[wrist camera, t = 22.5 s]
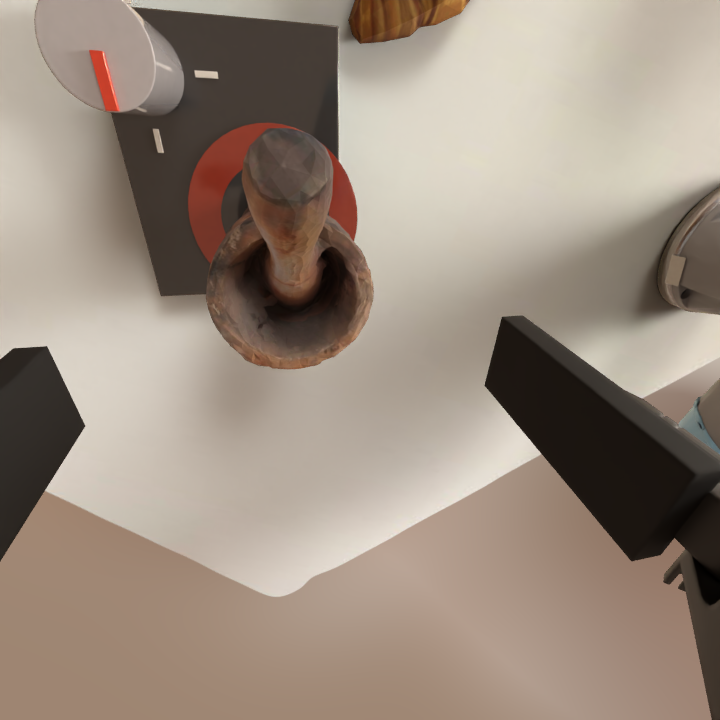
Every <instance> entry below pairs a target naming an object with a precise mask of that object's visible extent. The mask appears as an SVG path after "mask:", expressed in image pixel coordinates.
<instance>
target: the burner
mask: <svg viewBox="0 0 720 720" xmlns="http://www.w3.org/2000/svg"><path fill="white" fill-rule="evenodd" d="M267 128H290V129H294V130H299V129H296V128H294V127H290V126H287V125H283V124H276V123H255V124H250V125H245V126H242V127H239V128H236V129H234V130H232V131H230V132H228V133H226V134H224V135H223V136H221V137H220V138H219V139H218V140H216V141H215V142H214V143H213V144H212V145H211V146H210V147H209V148H208V149H207V150H206V151H205V152H204V154H203V156H202V157H201V159H200V160H199V162H198V164H197V166H196V168H195V170H194V172H193V175H192V179H191V182H190V186H189V194H188V212H189V219H190V224H191V228H192V231H193V234H194V237H195V239H196V241H197V244H198V246H199V247H200V249H201V251H202V253H203V254H204V256H205V257H206V258H207V260H208V261H209V263H210V264H211V263H212V260H213V257H214V255H215V253H216V251H217V249H218V247H219V245H220V244H221V242H222V241H223V239H224V238H225V235H226V234H227V232H228V231H229V229H230V228H231V227H232V226H233V225H234V223H235V222H236V221H237V220H238V219H240V218H241V217H242V215H243V213H244V212H245V210H246V209H247V207H248V202H247V199H246V195H245V192H244V188H243V184H242V171H243V161H244V158H245V156H246V153H247V151H248V149H249V146H250V145H251V144H252V143H253V142H254V141H255V140H256V139H257V138H258V137H259V136H260V135H261V134H262V133H263V132H264V131H265V130H266V129H267ZM299 131H301V130H299ZM302 132H303V131H302ZM320 143H321V142H320ZM321 144H322V143H321ZM325 148H326V149H327V151H328V154H329V156H330V159H331V160H332V166H333V187H332V198H331V203H330V208H329V211H328V214H327V215H328V216H330V217H331V218H333V219H334V220H336V221H337V222H338V223H339V224H340V226H341V227H342V228H343V229H344V230H345V231H346V232H347V233H348V234H349V235H350V237H351V239H352V240H353V241H354V238H355V234H356V227H357V206H356V200H355V195H354V192H353V188H352V185H351V183H350V180H349V178H348V176H347V174H346V172H345V170H344V169H343V167H342V165H341V164H340V162H339V161H338V160H337V158H336V157H335V156H334V155H333V154H332V153H331V152H330V151H329V149H328V148H327V147H326V146H325Z"/></svg>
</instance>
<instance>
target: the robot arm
mask: <svg viewBox="0 0 720 720" xmlns="http://www.w3.org/2000/svg"><path fill="white" fill-rule="evenodd" d="M657 279H658V288H659V291H660V294H661V296H662V297H663V298H664V299H665V300H666V301H667V302H668V303H670V304H672V305H675V306H677V307H679V308H681V309H684V310H686V311H690V312H699V313H709V314H718V315H720V187H719V188H717V189H716V190H714V191H713V192H711V193H710V194H709V195H707V196H706V197H705V198H704V199H703V200H702V201H700V202H699V203H698V204H697V205H696V206H695V207H694V208H693V209H692V210H691V211H690V212H689V214H688V215H687V216H686V217H685V218H684V219H683V221H682V222H681V223H680V225H679V226H678V227H677V229H676V230H675V232H674V233H673V235H672V237H671V238H670V240H669V242H668V244H667V246H666V248H665V250H664V253H663V255H662V258H661V261H660V265H659V269H658V278H657ZM485 387H486V388H487V389H488V390H489V391H490V392H491V394H492V395H493V396H494V397H495V398H496V400H497V401H498V402H499V403H500V404H501V406H502V407H503V408H504V409H505V410H506V412H507V413H508V414H509V415H510V416H511V418H512V419H513V420H514V421H515V422H516V424H517V425H518V426H519V427H520V428H521V430H522V431H523V432H524V433H525V434H526V436H527V437H528V438H529V439H530V440H531V442H532V443H533V444H534V445H535V446H536V448H537V449H538V450H539V451H540V452H541V454H542V455H543V456H544V457H545V458H546V460H547V461H548V462H549V463H550V464H551V466H552V467H553V468H554V469H555V470H556V471H557V473H558V474H559V475H560V476H561V478H562V479H563V480H564V481H565V482H566V483H567V485H568V486H569V487H570V488H571V489H572V491H573V492H574V493H575V494H576V495H577V497H578V498H579V499H580V500H581V501H582V503H583V504H584V505H585V506H586V507H587V509H588V510H589V511H590V512H591V513H592V515H593V516H594V517H595V518H596V519H597V521H598V522H599V523H600V524H601V525H602V527H603V528H604V529H605V530H606V531H607V533H609V535H610V536H611V537H612V539H613V540H614V541H615V542H616V543H617V544H618V546H619V547H620V548H621V549H622V550H623V552H624V553H625V554H626V555H627V556H628V558H629V559H630V560H631V561H635V560H640V559H644V558H649V557H654V556H658V555H661V554H662V553H663V551H664V550H665V549H666V548H667V546H668V545H669V544H670V542H671V541H672V540H673V539H674V538H675V539H676V540H677V541H678V542H680V544H681V545H682V546H683V547H685V550H684V551H683V553H682V554H681V555H680V556H679V557H678V559H677V560H676V561H675V562H674V563H673V565H672V566H671V567H670V568H669V569H668V570H667V571H666V573H665V574H664V581H663V582H664V583H666V584H671V582H672V581H673V580H674V579H675V578H676V577H677V576H678V574H682V575H683V581H682V583H681V584H680V585H679V587H678V589H680V590H683V591H685V592H686V595H687V600H688V605H689V609H690V614H691V619H692V624H693V629H694V634H695V639H696V644H697V649H698V654H699V659H700V664H701V668H702V674H703V678H704V683H705V688H706V693H707V698H708V703H709V708H710V713H711V717H712V720H720V379H719V380H718V381H717V382H716V383H715V384H714V385H713V386H712V387H711V388H710V389H709V390H708V391H707V392H706V393H705V394H704V395H703V396H701V397H698V398H697V399H696V401H695V402H694V406H693V407H692V409H691V410H690V411H689V412H688V413H687V414H686V415H685V417H684V418H683V419H682V420H681V421H680V422H679V424H677V423H676V422H674V421H673V420H672V419H670V418H669V417H667V416H665V417H664V416H663V413H662V412H660V411H659V410H658V409H656V408H655V407H654V406H652V405H651V404H649V403H648V402H647V401H645V400H644V399H641V398H639V397H637V396H635V395H633V394H631V393H629V392H627V391H625V390H623V389H622V388H620V387H619V386H618V385H616V384H615V383H614V382H612V381H611V380H610V379H608V378H607V377H605V376H604V375H603V374H601V373H600V372H599V371H597V370H596V369H595V368H593V367H592V366H591V365H589V364H588V363H587V362H585V361H584V360H582V359H581V358H580V357H578V356H577V355H576V354H574V353H573V352H572V351H570V350H569V349H568V348H566V347H565V346H563V345H562V344H561V343H559V342H558V341H557V340H555V339H554V338H553V337H551V336H550V335H549V334H547V333H546V332H544V331H543V330H542V329H540V328H539V327H538V326H536V325H535V324H534V323H532V322H531V321H530V320H528V319H527V318H525V317H524V316H509V317H502V319H501V323H500V327H499V330H498V334H497V338H496V342H495V346H494V350H493V354H492V358H491V362H490V366H489V370H488V374H487V378H486V381H485ZM84 427H85V424H84V422H83V420H82V418H81V416H80V414H79V412H78V410H77V408H76V406H75V404H74V402H73V399H72V397H71V395H70V393H69V391H68V389H67V387H66V385H65V383H64V381H63V379H62V377H61V374H60V372H59V370H58V368H57V366H56V364H55V362H54V360H53V358H52V356H51V354H50V352H49V349H48V347H47V346H46V347H30V348H15V349H12V350H11V351H10V352H9V353H7V354H6V355H5V356H4V357H3V358H2V359H0V561H1V559H2V558H3V556H4V555H5V552H6V551H7V550H8V548H9V547H10V545H11V543H12V542H13V540H14V539H15V537H16V535H17V534H18V532H19V531H20V529H21V528H22V526H23V524H24V523H25V521H26V519H27V518H28V516H29V515H30V513H31V511H32V510H33V508H34V507H35V505H36V504H37V502H38V500H39V499H40V497H41V496H42V494H43V492H44V491H45V489H46V488H47V486H48V485H49V483H50V481H51V480H52V478H53V477H54V475H55V473H56V472H57V470H58V469H59V467H60V465H61V464H62V462H63V461H64V459H65V457H66V456H67V454H68V453H69V451H70V450H71V448H72V446H73V445H74V443H75V442H76V440H77V438H78V437H79V435H80V434H81V432H82V430H83V429H84Z"/></svg>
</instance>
